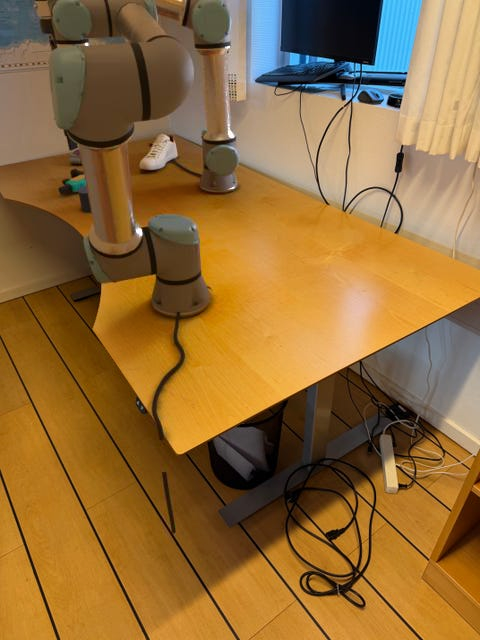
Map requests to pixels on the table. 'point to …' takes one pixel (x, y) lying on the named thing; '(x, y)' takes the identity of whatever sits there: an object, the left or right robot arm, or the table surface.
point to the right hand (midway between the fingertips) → (67, 95)
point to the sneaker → (160, 153)
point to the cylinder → (84, 199)
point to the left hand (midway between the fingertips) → (93, 152)
